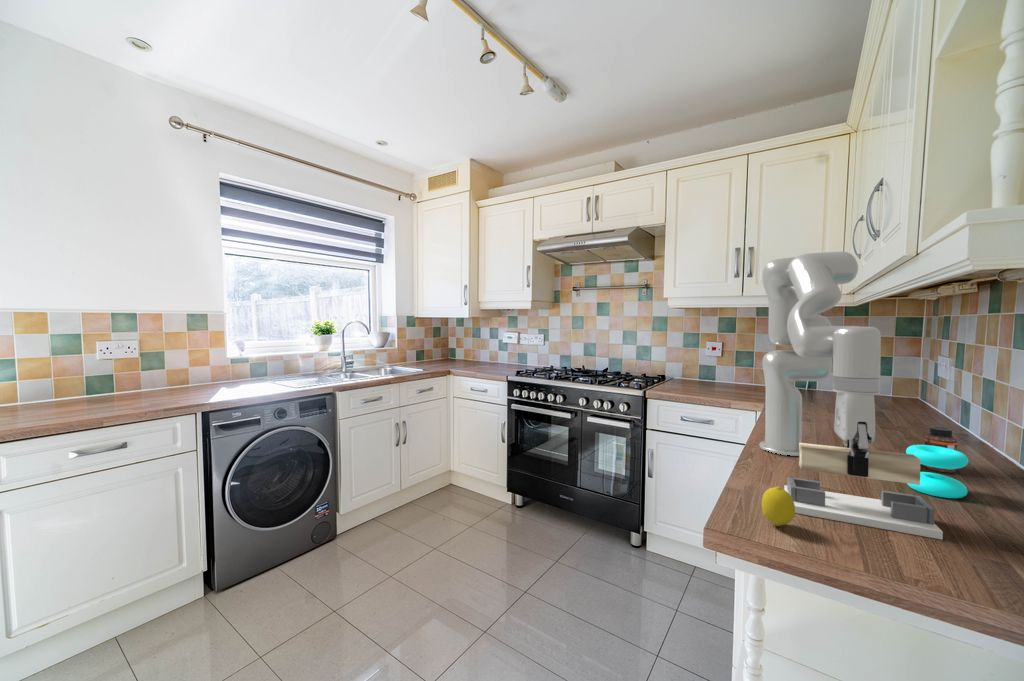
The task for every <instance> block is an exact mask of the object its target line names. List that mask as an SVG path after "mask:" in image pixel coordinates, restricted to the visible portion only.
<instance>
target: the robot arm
mask: <svg viewBox="0 0 1024 681" xmlns="http://www.w3.org/2000/svg"><path fill="white" fill-rule="evenodd" d="M858 271H859V265H858V262H857V259H856V258H855V256H854V255H853V254H852V253H851V252H848V251H827V252H826V251H825V252H810V253H804V254H800V255H798V256H796V257H783V258H782V257H781V258H777V259H773V260H770V261H768V262H767V263H766V264H765V265H764V267H763V270H762V274H761V275H762V285H763V288H764V291H765V294H766V296H767V300H768V331H767V332H768V339H769V341H770V343H771V344H772V345H776V346H781V347H782V346H783V347H784V346H786V347H789V346H790V347H792V349H780V350H779V349H777V350H771V351H769V352H767V353H766V354H764V356H763V357H762V362H761V363H762V370H763V377H764V385H765V386H764V387H765V398H764V399H765V408H764V409H765V415H764V416H765V421H764V422H765V424H764V425H765V428H764V430H765V431H764V432H765V433H764V440H763V441H760V442H759V449H761V450H763V451H765V450H766V451H765V452H768V451H769V453H771V452H772V454H775V453H777V454H776V455H780V454H781V455H780V456H787V455H790V456H791V457H799V443H803V441H802V440H803V439H802V438H803V436H802V435H803V434H802V432H803V429H802V428H803V395H802V393H801V391H800V390H799V389H798V388H797V387H796V386H795V384H794V383H793V382H824V381H827V380H828V379H829V378H830V376H831V374H832V392H835V393H836V395H835V406H834V407H835V410H834V423H833V424H834V425H833V431H834V433H835V434H836V436H838V437H839V438H840V439H841V440H842V447H845V448H849V452H850V455H848V462H847V473H848V474H849V475H854V476H853V477H855V476H861V477H860V478H863V477H868V450H869V445H871V444H873V443H874V442H875V440H876V438H875V437H876V411H875V410H876V409H875V408H876V404H875V396H878V395H879V396H880V395H881V364H882V363H881V354H882V353H881V352H882V350H881V349H882V348H881V345H882V344H881V343H882V336H881V331H880V330H879V328H877V327H874V326H857V325H832V323H831V321H830V320H829V319H828V317H826V316H825V315H820V314H821V313H824V312H826V311H829V310H830V309H832V308H834V307H835V306H836V305H837V304H839V303H840V302H841V298H842V290H841V289H840V287H839V285H846V284H849V283H851V282H853V281H854V279H855V278H856V277H857V275H858V273H859V272H858ZM790 456H789V457H790Z"/></svg>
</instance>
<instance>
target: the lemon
mask: <svg viewBox="0 0 1024 681" xmlns="http://www.w3.org/2000/svg"><path fill="white" fill-rule="evenodd" d="M761 510H762V512H763V515H764V516H765V518H766V520H768V521H769V522H772V523H773V524H774V525H775V526H776V527H781V526H782V525H787V524H789V523H791V522H793V520H794V517H795V514H796V513H795V505H794V501H793V499H792V497H791V495H790V494H789V493H788V492H787V491H785V490H784V489H783V488H781V486H774V487H770V488H768V489H767V490H765V491H764V492H763V494H762V498H761Z"/></svg>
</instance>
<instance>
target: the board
mask: <svg viewBox="0 0 1024 681" xmlns="http://www.w3.org/2000/svg"><path fill="white" fill-rule="evenodd" d="M783 490H785V491H787V492H788V490H787V484H784V489H783ZM824 491H825V506H819V505H813V504H807V503H801V502H795V501H794V505H795V514H797V515H804V516H808V517H809V516H810V517H815V518H820V519H821V518H822V519H827V520H831V521H838V522H843V523H848V524H853V525H859V526H866V527H869V528H874V529H875V528H876V529H881V530H886V531H893V532H897V533H904V534H909V535H915V536H919V537H920V536H921V537H924V538H925V537H927V538H931V539H936V540H943V539H944V538H943V534H944V532H943V530H942V529H941V528H939V527H938V525H937V524H935V522H934V525H932V524H926V523H920V522H914V521H908V520H902V519H896V518H892V517H891V507H886V506H882V504H881V499H878V498H871V497H865V496H858V495H852V494H845V493H839V492H833V491H826V490H824Z"/></svg>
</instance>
